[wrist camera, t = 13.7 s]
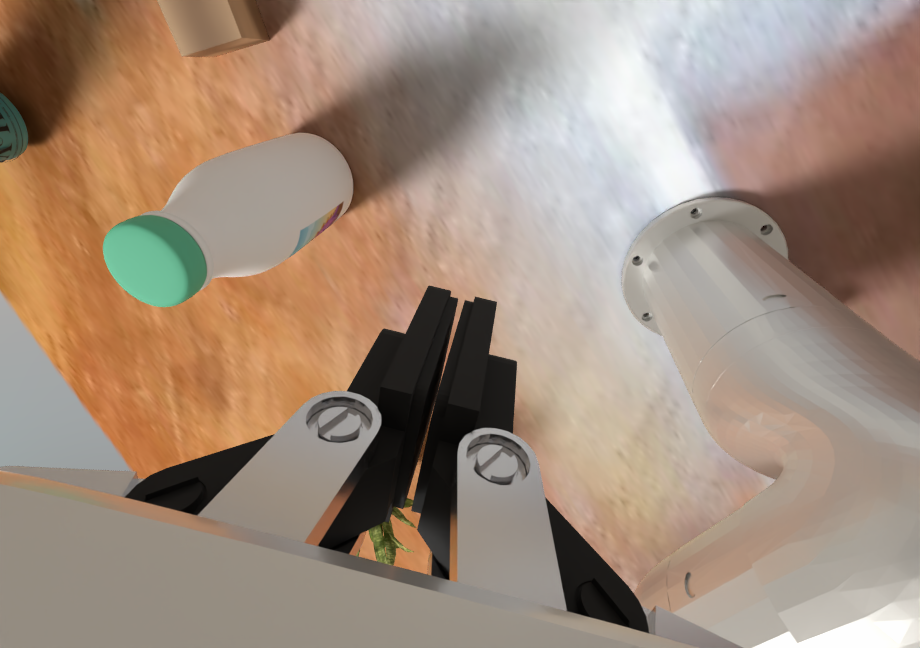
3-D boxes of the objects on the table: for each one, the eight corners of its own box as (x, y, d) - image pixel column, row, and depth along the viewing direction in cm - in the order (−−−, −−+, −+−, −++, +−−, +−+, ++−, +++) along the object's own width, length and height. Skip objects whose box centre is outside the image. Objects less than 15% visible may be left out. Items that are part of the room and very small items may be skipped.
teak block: (241, -41, 33) (207, -53, 29) (270, 40, 35) (241, 37, 31) (184, -20, 34) (144, -29, 30) (215, 57, 36) (181, 56, 33)
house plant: (313, 463, 58) (242, 591, 44) (332, 383, 51) (255, 505, 37) (419, 500, 59) (382, 638, 45) (452, 426, 52) (421, 562, 38)
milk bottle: (260, 132, 38) (37, 189, 21) (348, 129, 37) (188, 188, 20) (281, 222, 42) (107, 333, 25) (362, 222, 41) (237, 338, 24)
